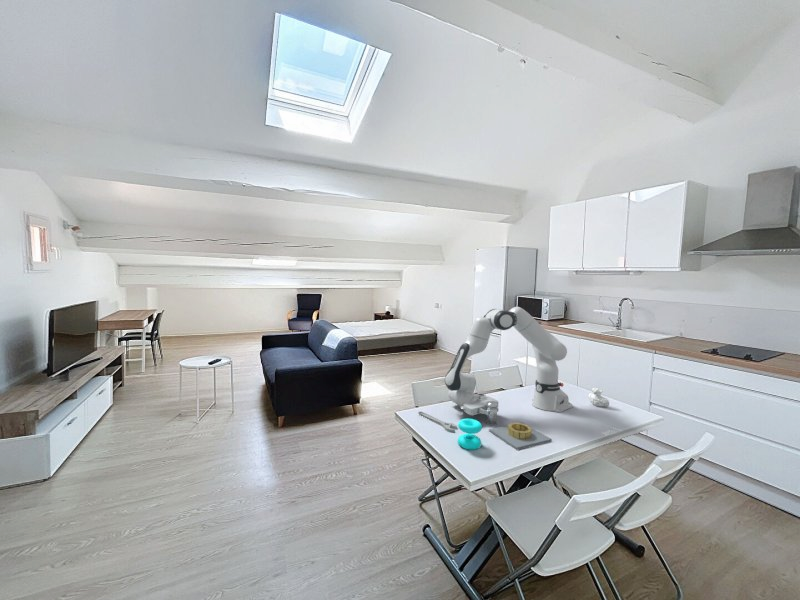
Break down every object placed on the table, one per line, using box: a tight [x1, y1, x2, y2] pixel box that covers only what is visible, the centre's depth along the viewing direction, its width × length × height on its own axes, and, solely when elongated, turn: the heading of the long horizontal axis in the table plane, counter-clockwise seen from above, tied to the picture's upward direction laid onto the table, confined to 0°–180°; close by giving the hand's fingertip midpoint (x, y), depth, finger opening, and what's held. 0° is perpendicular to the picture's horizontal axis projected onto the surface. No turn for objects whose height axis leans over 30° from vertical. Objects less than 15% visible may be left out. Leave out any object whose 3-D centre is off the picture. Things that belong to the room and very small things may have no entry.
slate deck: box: [488, 422, 553, 451], centre depth 151 cm, size 20×18×1 cm
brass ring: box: [508, 422, 532, 439], centre depth 151 cm, size 10×10×3 cm
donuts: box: [457, 418, 483, 451], centre depth 143 cm, size 10×10×10 cm
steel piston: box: [485, 401, 498, 426], centre depth 165 cm, size 5×5×10 cm
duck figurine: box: [588, 387, 610, 408], centre depth 189 cm, size 12×8×11 cm
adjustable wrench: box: [418, 411, 458, 433], centre depth 166 cm, size 25×6×2 cm, turn 35°
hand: (493, 411), depth 164 cm, fingers closed on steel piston, 5 cm apart
